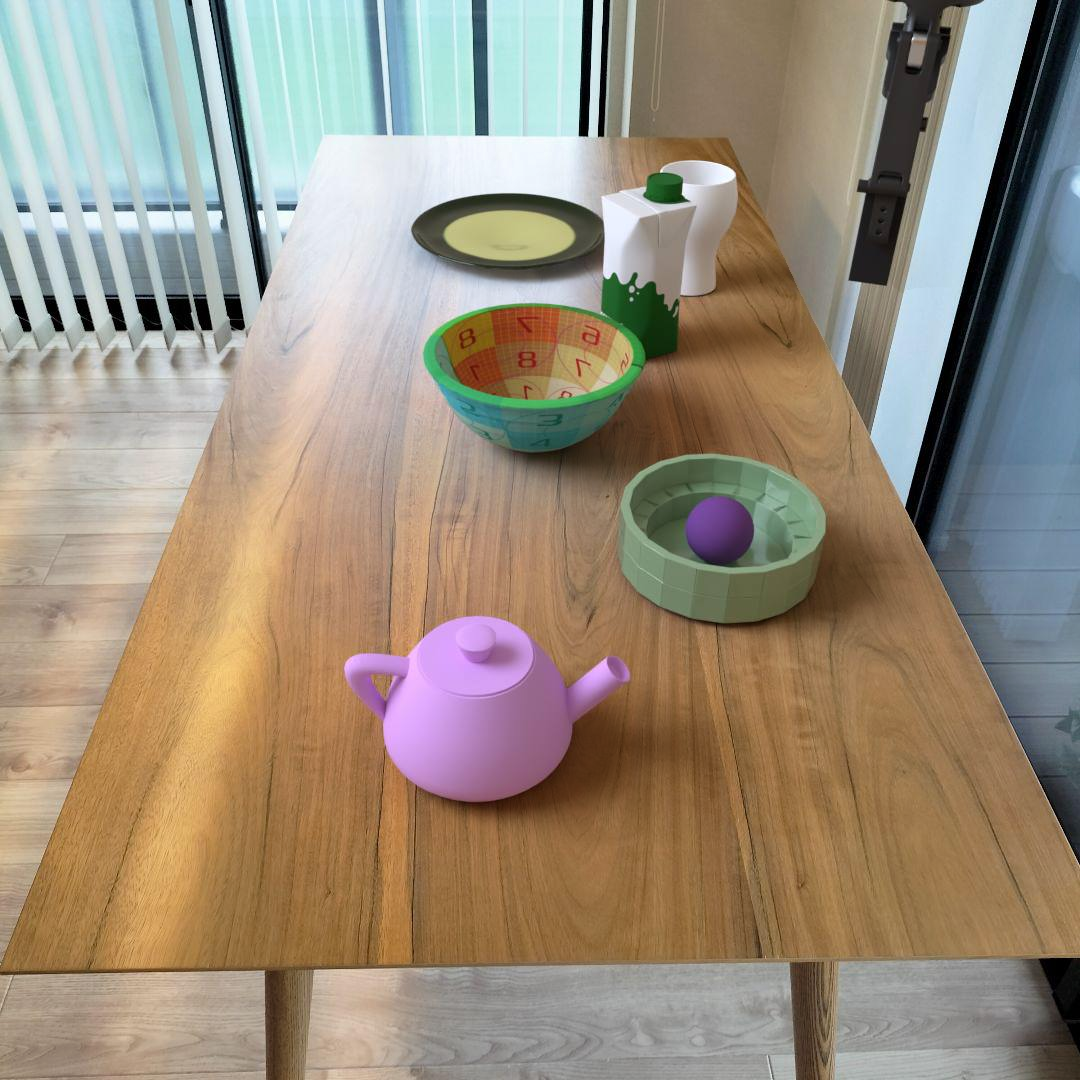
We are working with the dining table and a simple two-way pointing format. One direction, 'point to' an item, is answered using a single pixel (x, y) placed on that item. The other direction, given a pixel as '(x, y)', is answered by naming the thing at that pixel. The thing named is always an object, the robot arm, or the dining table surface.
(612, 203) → the milk carton
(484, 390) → the bowl
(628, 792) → the dining table surface
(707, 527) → the ball
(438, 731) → the teapot
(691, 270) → the cup
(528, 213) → the plate
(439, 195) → the dining table surface
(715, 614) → the green bowl
